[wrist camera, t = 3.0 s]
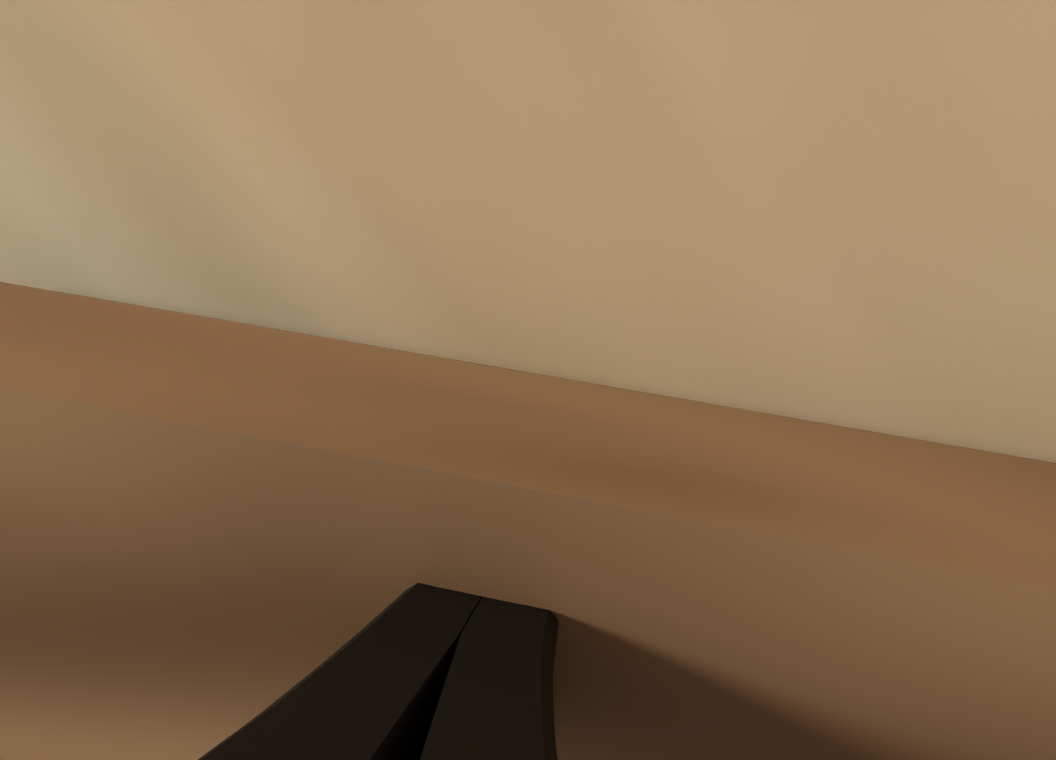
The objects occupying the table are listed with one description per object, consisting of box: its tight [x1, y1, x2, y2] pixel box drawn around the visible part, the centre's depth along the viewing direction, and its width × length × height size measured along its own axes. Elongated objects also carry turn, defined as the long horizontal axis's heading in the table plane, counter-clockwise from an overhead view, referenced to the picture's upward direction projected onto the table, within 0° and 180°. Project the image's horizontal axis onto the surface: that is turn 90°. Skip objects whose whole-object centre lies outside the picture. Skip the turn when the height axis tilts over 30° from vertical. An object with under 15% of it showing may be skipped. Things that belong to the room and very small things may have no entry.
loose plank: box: [0, 282, 1056, 760], centre depth 9 cm, size 7×22×2 cm, turn 83°
